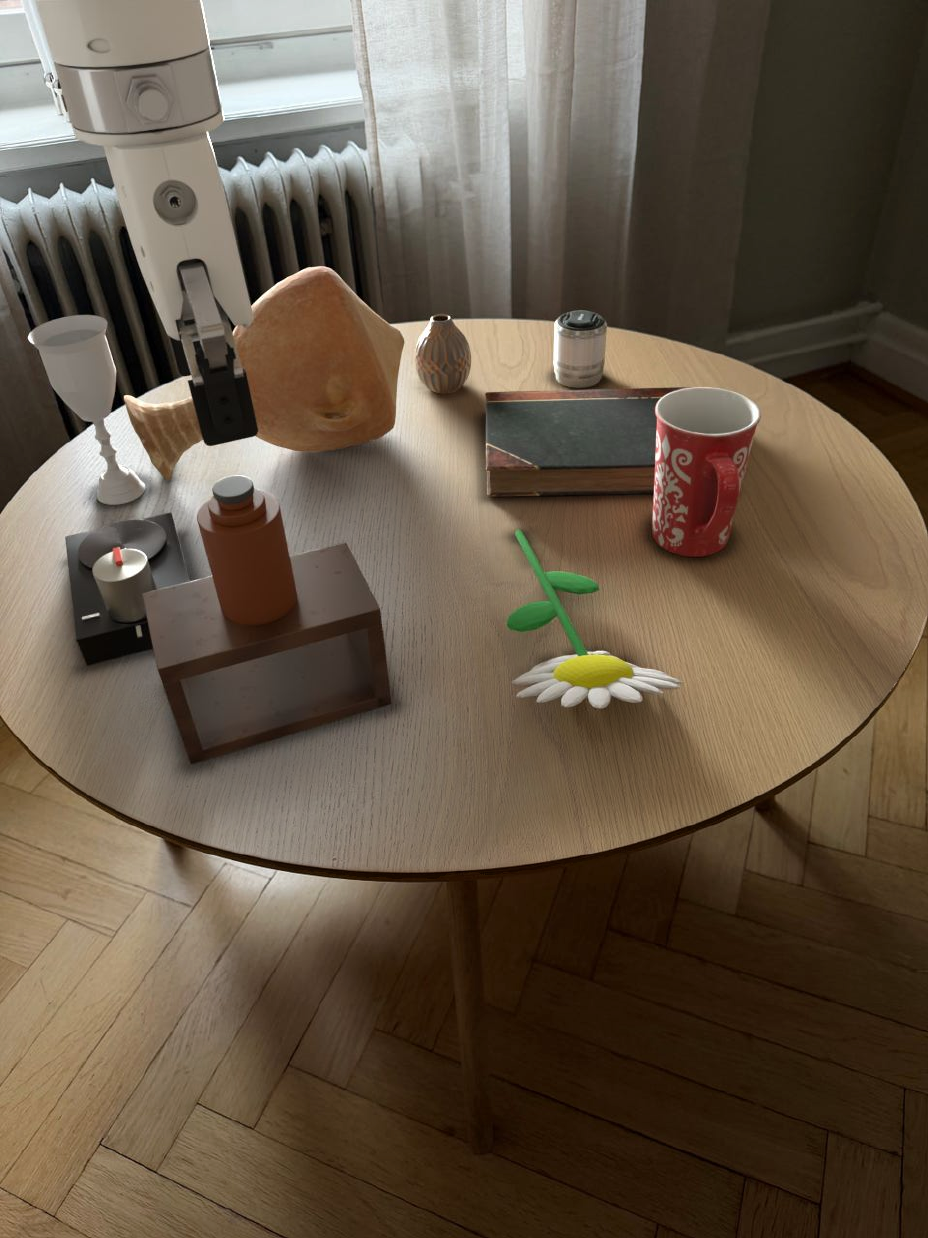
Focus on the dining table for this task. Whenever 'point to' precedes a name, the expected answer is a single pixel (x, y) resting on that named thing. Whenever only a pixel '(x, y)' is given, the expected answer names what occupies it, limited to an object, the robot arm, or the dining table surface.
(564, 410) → the book
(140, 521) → the burner
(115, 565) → the stove knob
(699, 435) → the mug
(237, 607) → the bottle
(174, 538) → the stove
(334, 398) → the jug
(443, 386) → the vase
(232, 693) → the shelf
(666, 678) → the decorative flower
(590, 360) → the camera lens
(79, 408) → the chalice
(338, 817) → the dining table surface
